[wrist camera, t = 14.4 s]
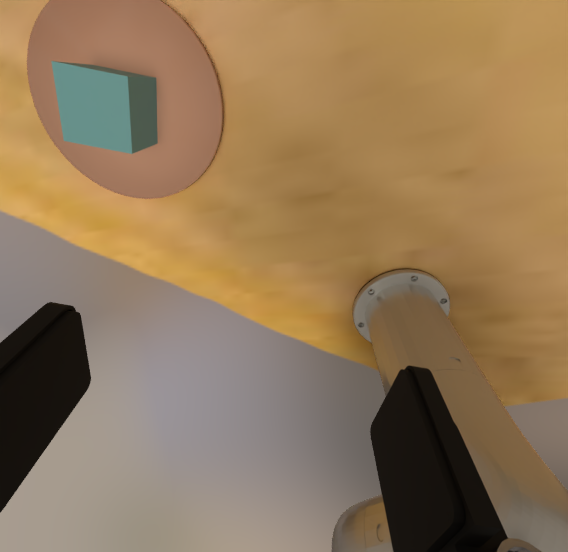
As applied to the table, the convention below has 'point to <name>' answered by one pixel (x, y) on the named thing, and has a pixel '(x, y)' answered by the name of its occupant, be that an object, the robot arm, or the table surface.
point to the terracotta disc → (141, 60)
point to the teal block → (106, 107)
